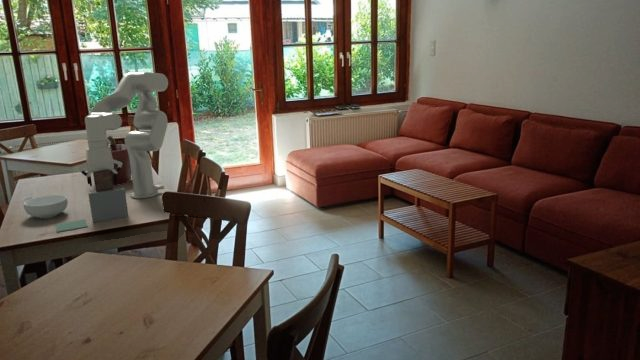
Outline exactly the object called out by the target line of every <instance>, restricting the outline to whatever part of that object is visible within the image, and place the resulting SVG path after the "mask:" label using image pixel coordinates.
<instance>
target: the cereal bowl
mask: <svg viewBox="0 0 640 360" xmlns="http://www.w3.org/2000/svg"><path fill="white" fill-rule="evenodd" d="M68 203H69V202H68V197H67V196H66V195H60V194H59V195H57V194H56V195H55V194H54V195H53V194H52V195H45V196H39V197H35V198H31V199H29V200H26V201H24V203H23V208H24V211H25V212H26V214H27V215H29V216H31V217H36V218H38V219H49V218H50V219H51V218H54V217H56V216H58V215H59V214H60V213H62V212H64V211H65V210H66V209H67V208H68Z"/></svg>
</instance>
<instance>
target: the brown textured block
mask: <svg viewBox="0 0 640 360" xmlns="http://www.w3.org/2000/svg"><path fill="white" fill-rule="evenodd" d="M92 175H93V182H94V189H95V192H102V191H108V190H115V188H114V186H113V181H112V174H111V170H110V169H108V170H103V171H100V172H92Z"/></svg>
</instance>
